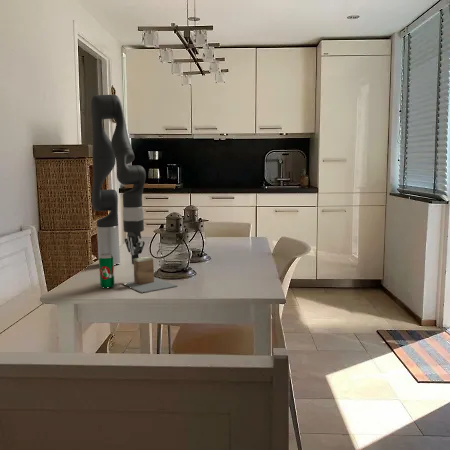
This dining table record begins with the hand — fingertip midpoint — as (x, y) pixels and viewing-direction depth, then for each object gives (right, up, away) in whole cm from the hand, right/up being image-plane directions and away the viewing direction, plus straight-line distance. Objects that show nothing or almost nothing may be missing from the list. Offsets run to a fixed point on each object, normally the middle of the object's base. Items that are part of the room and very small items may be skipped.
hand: (135, 264), depth 182 cm
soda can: (-8, -8, -9) cm, 15 cm away
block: (+4, -6, -5) cm, 9 cm away
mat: (+7, -7, -8) cm, 12 cm away
